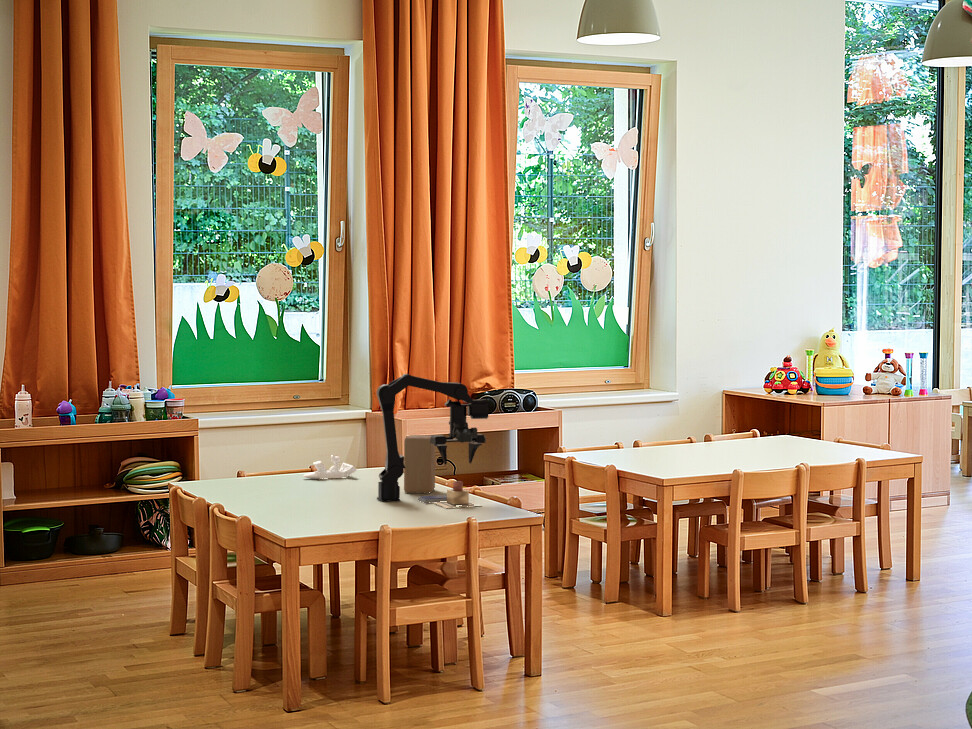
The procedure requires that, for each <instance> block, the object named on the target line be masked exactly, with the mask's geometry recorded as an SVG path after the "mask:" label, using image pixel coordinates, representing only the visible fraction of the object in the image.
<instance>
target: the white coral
mask: <svg viewBox="0 0 972 729" xmlns="http://www.w3.org/2000/svg"><path fill="white" fill-rule="evenodd" d="M330 461H331V463H333V465H332V466H331V467H329V468H328V470H327V469H326V465H325V464H324V463H323V462H322V461H321V460H318V461H314V462H313V463H312V464H313V466H314V467H315V469H316V470H315V471H313V472H308V473H306V474H303V476H302V477H303V478H306V479H312V480H314V479H315V480H320V479H322V478H323V479H324V478H342V477H347V478H348V476H350V475H352V474H353V473H355V472H357V470H358V469H357V468H356V467H355V466H354V465H352V464H349V463H347V462H342V464H341V466H340V462H341V458H340V456H337V455H334V454H331V455H330ZM324 480H325V479H324Z"/></svg>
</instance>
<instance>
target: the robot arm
mask: <svg viewBox="0 0 972 729" xmlns="http://www.w3.org/2000/svg"><path fill="white" fill-rule="evenodd" d="M407 387H413V388H418V389H422V390H427V391H431V392H435V393H436V392H437V393H441V394H443V395H445V396H447V397H449V398H448V399H447V401H446V402H445V403H444V406H445V407H449V421H448V425H449V432H448V436H446V435H443V434H431V435H432V436H431V438H430V443H432V444H434V446H435V447H436V448H437V450H438V452H439V454H440V456H441V459H442V462H443V464H444V465H447V462H448V458H447V457H448V456H447V449H448V445H447V443H468V464H472V462H473V459H474V457H475V455H476V452H477V449H478V448H479V447H480V446H483V444H485V443H486V436H485V434H481V433H478V428H477V427H471V428H469V423H468V422H467V417H470V419H471V420H487V419H489V415H490V414H489V406H488V401H487V400H488V399H486V398H485V399H484V398H482V399H472V397H471V396H470V395H469V391H468V388H467V385H465V384H463V383H461V382H452V381H451V382H450V381H449V382H448V381H447V382H445V381H438V380H435V379H434V380H432V379H429V378H424V377H420V376H416V375H415V376H414V375H411V374H408V373H404V374H402V375H401V376H400V377H398V378H396V379H394V380H392V381H390V382H389V383H388V384H381V385H379V386H378V387H377V389H376V397H377V400H378V404H379V406H380V409H381V414H382V421H383V430H384V432H383V433H384V439H385V448H386V449H385V450H386V454H385V459H384V460H385V462H384V469H383V470H382V471H381V472H380V473H378V478H379V480H380V481H378V482H377V483H378V487H377V491H378V495H377V497H376V499H377V500H378V501H381V502H394V501H395V502H397V501H401V497H400V496H401V487H400V485H399V479H400V478H401V477H402V476H404V468H405V466H404V454H400V452H399V449H398V439H397V430H396V420H395V414H394V413H395V412H394V411H395V404H396V396H397V394H400V392H402V391H403V390H404V389H406V388H407ZM450 398H452V399H455V400H456V401H452V400H451V399H450ZM461 401H462V402H463V403H462V402H461Z"/></svg>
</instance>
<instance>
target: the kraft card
mask: <svg viewBox="0 0 972 729" xmlns="http://www.w3.org/2000/svg"><path fill="white" fill-rule="evenodd" d="M472 503H475V502H474V501H472ZM472 503H470V502H469V505H462V506H459V507H467V506H468V507H469V506H474V504H472ZM435 504H437V505H436V506H438V505H440V506H442V507H441V508H443V507H445V508H453V507H456V506H453V505H450V504H448V503H447V502H437V503H435ZM435 504H434V505H435ZM440 506H439V507H440ZM445 508H444V509H445ZM469 508H470V507H469Z"/></svg>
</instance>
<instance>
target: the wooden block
mask: <svg viewBox="0 0 972 729" xmlns="http://www.w3.org/2000/svg"><path fill="white" fill-rule="evenodd" d="M432 435H433V434H428V435H427V434H425V435H424V434H410V435H408V436H406V437H405V438H404V440H403V447H404V448H403V449H404V451H403V453H404V454H403V456H404V466H405V468H404V473H403V491H404V493H406V492H407V493H406V494H427V493H429V492H431V493H432V492H433V491H434V490H435V489H436V446H434V444H432V443H430V438H431V436H432ZM434 488H435V489H434ZM433 489H434V490H433ZM429 494H430V493H429Z"/></svg>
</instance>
